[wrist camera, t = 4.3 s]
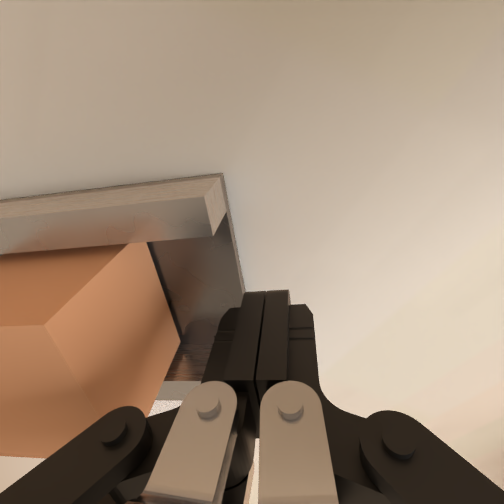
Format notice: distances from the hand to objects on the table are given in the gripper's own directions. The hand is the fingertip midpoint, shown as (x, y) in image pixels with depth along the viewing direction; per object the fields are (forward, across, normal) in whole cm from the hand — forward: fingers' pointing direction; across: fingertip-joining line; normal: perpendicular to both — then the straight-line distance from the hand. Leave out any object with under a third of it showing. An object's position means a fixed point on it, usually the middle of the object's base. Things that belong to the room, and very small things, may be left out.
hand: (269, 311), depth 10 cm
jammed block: (+2, +7, 0) cm, 7 cm away
